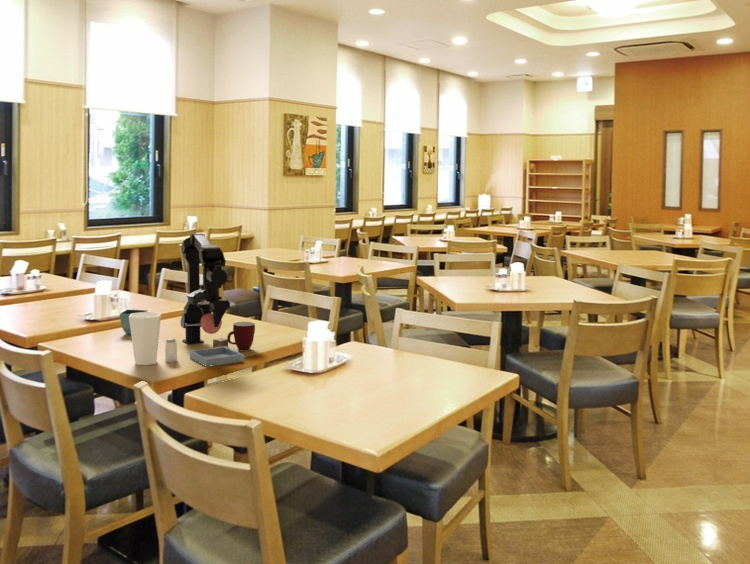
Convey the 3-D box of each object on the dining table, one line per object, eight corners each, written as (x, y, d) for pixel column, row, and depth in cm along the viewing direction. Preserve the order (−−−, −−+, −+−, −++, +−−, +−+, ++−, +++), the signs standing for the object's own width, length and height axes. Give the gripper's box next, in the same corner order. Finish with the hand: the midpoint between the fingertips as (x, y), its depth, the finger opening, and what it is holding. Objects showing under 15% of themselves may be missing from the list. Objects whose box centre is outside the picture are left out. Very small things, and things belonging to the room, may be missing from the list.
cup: (168, 361, 254) (167, 313, 251) (150, 368, 244) (149, 319, 241) (141, 357, 257) (140, 310, 255) (123, 364, 248) (121, 316, 245)
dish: (189, 358, 259) (189, 351, 258) (225, 353, 267) (225, 346, 267) (206, 367, 248) (206, 359, 247) (243, 361, 256) (243, 354, 256)
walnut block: (213, 349, 272) (212, 339, 272) (221, 347, 275) (221, 337, 275) (220, 351, 270) (220, 341, 269) (228, 349, 273) (228, 339, 272)
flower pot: (141, 336, 290) (140, 314, 288) (119, 335, 290) (119, 313, 288) (148, 331, 298) (148, 310, 297) (127, 330, 298) (126, 309, 297)
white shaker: (163, 360, 255) (163, 338, 253) (174, 358, 257) (174, 337, 256) (167, 362, 252) (167, 341, 250) (178, 361, 254) (178, 339, 253)
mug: (233, 354, 266) (233, 327, 264) (223, 349, 272) (223, 323, 270) (258, 350, 273) (258, 324, 271) (248, 346, 279) (248, 320, 277)
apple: (203, 336, 253) (203, 313, 252) (198, 332, 259) (198, 310, 258) (224, 334, 256) (224, 312, 255) (218, 330, 262) (218, 309, 261)
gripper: (179, 280, 258) (179, 323, 260) (200, 286, 243) (201, 332, 245) (208, 278, 264) (208, 320, 266) (230, 284, 250) (231, 328, 252)
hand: (211, 325), depth 257 cm, fingers closed on apple, 7 cm apart
